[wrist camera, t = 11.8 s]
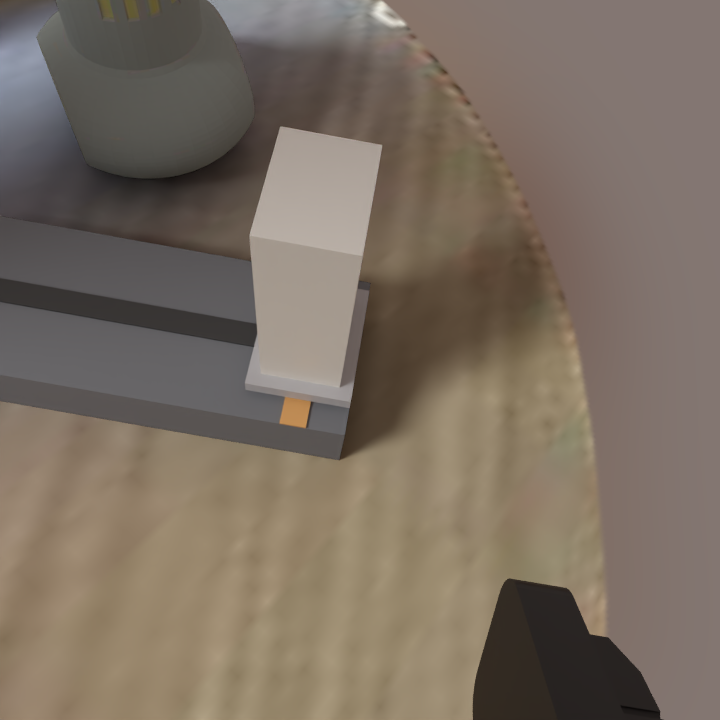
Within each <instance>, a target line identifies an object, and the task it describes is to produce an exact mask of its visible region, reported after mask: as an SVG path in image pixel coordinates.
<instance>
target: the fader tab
mask: <svg viewBox="0 0 720 720" xmlns="http://www.w3.org/2000/svg"><path fill="white" fill-rule="evenodd" d="M381 151H382V145H379V144H374V143H369V142H363V141H358V140H352V139H347V138H342V137H336V136H331V135H325V134H320V133H315V132H309V131H304V130H298V129H293V128H288V127H282V126H280V129H279V133H278V136H277V140H276V143H275V147H274V150H273V154H272V157H271V161H270V164H269V168H268V172H267V175H266V179H265V182H264V186H263V189H262V193H261V196H260V200H259V203H258V207H257V210H256V214H255V217H254V221H253V224H252V228H251V232H250V235H249V237H250V249H251V261H252V273H253V285H254V297H255V309H256V321H257V337H256V341H255V345H254V349H253V353H252V356H251V360H250V364H249V368H248V372H247V376H246V380H245V389H246V390H249V391H255V392H261V393H266V394H272V395H278V396H283V397H289V398H295V399H300V400H306V401H312V402H317V403H323V404H329V405H334V406H340V407H346V408H350V403H351V398H352V392H353V386H354V380H355V374H356V368H357V362H358V356H359V350H360V344H361V338H362V332H363V326H364V321H365V315H366V309H367V303H368V297H369V291H368V290H362V289H357V288H358V282H359V277H360V271H361V265H362V259H363V254H364V248H365V242H366V237H367V231H368V225H369V220H370V214H371V208H372V202H373V197H374V191H375V185H376V180H377V174H378V168H379V162H380V157H381Z"/></svg>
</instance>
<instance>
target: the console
mask: <svg viewBox="0 0 720 720" xmlns="http://www.w3.org/2000/svg"><path fill="white" fill-rule="evenodd" d="M357 289H362V290H368V291H369V289H370V283H368V282H363V281H359V282H358V288H357ZM256 337H257V321H256V309H255V297H254V285H253V273H252V261H247V260H241V259H236V258H230V257H225V256H219V255H214V254H208V253H203V252H197V251H192V250H186V249H180V248H175V247H169V246H164V245H158V244H153V243H147V242H142V241H136V240H131V239H125V238H120V237H114V236H109V235H103V234H98V233H92V232H86V231H81V230H75V229H70V228H64V227H59V226H53V225H48V224H42V223H37V222H31V221H26V220H20V219H15V218H9V217H4V216H0V401H4V402H10V403H16V404H21V405H27V406H33V407H38V408H44V409H50V410H56V411H61V412H67V413H73V414H78V415H84V416H90V417H96V418H101V419H107V420H113V421H119V422H124V423H130V424H136V425H141V426H147V427H153V428H159V429H164V430H170V431H176V432H181V433H187V434H193V435H199V436H204V437H210V438H216V439H222V440H227V441H233V442H239V443H244V444H250V445H256V446H262V447H267V448H273V449H279V450H284V451H290V452H296V453H302V454H307V455H313V456H319V457H324V458H330V459H336V460H339V459H340V454H341V450H342V445H343V441H344V437H345V431H346V425H347V419H348V413H349V408H346V407H340V406H334V405H329V404H323V403H317V402H312V401H306V400H300V399H295V398H289V397H283V396H278V395H272V394H266V393H261V392H255V391H249V390H246V389H245V380H246V376H247V372H248V368H249V364H250V360H251V356H252V353H253V349H254V345H255V341H256Z"/></svg>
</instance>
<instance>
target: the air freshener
mask: <svg viewBox="0 0 720 720" xmlns="http://www.w3.org/2000/svg"><path fill="white" fill-rule="evenodd" d="M55 1H56V4H57V7H58V11H57V12H56V13H55V14H54V15H52V17H51V18H50V19H49V20H48V21H47V22H46V24H45V25H44V26H43V27H42V28H41V30H40V32H39V33H38V35H37V40H38V43H39V45H40V48H41V51H42V53H43V56H44V58H45V61H46V64H47V66H48V69H49V71H50V74H51V76H52V79H53V81H54V84H55V86H56V89H57V92H58V94H59V97H60V99H61V102H62V104H63V107H64V109H65V112H66V114H67V117H68V119H69V122H70V124H71V127H72V129H73V132H74V134H75V137H76V139H77V142H78V144H79V147H80V149H81V151H82V154H83V156H84V159H85V161H86V163H87V165H89V166H92V167H94V168H97V169H99V170H102V171H105V172H107V173H111V174H116V175H120V176H124V177H132V178H142V179H150V178H166V177H172V176H178V175H182V174H185V173H189V172H192V171H195V170H197V169H200V168H202V167H204V166H207V165H209V164H210V163H212V162H214V161H215V160H217V159H219V158H220V157H222V156H223V155H225V154H226V153H227V152H228V151H229V150H230V149H231V148H233V147H234V146H235V145H236V144H237V143H238V142H239V140H240V139H241V138H242V137H243V135H244V134H245V133H246V132H247V130H248V128H249V126H250V124H251V123H252V121H253V119H254V115H255V106H254V99H253V94H252V90H251V86H250V82H249V79H248V76H247V73H246V70H245V67H244V64H243V61H242V59H241V56H240V54H239V51H238V49H237V46H236V44H235V42H234V40H233V38H232V36H231V34H230V31H229V30H228V28H227V26H226V24H225V22H224V20H223V19H222V17H221V16H220V14H219V12H218V11H217V10H216V8H215V7H214V6H213V5H212V4H211V3H210V2H208V1H207V0H55Z"/></svg>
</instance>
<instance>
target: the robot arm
mask: <svg viewBox="0 0 720 720" xmlns="http://www.w3.org/2000/svg"><path fill="white" fill-rule="evenodd" d="M473 720H662V719H660V710H659V708H658V706H657V704H656V702H655V700H654V698H653V696H652V694H651V693H650V690H649V688H648V686H647V684H646V682H645V680H644V678H643V676H642V674H641V672H640V671H639V670H638V669H637V668H636V667H635V666H634V665H633V664H632V663H631V662H630V661H629V659H628V658H627V657H626V656H625V655H624V654H623V653H622V652H621V651H620V650H619V649H618V648H617V646H616V645H615V644H614V643H613V642H612V641H611V640H610V639H609V638H608V637H602V636H596V635H590V634H589V632H588V629H587V627H586V625H585V622H584V620H583V618H582V616H581V613H580V611H579V609H578V606H577V604H576V602H575V599H574V597H573V595H572V593H571V592H570V591H569V590H568V589H567V588H563V587H557V586H551V585H545V584H539V583H533V582H527V581H521V580H515V579H507V580H506V581H505V582H504V584H503V586H502V588H501V591H500V594H499V597H498V601H497V604H496V608H495V611H494V615H493V618H492V622H491V625H490V629H489V632H488V636H487V639H486V643H485V646H484V650H483V653H482V657H481V660H480V664H479V667H478V671H477V675H476V679H475V686H474V694H473Z"/></svg>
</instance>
